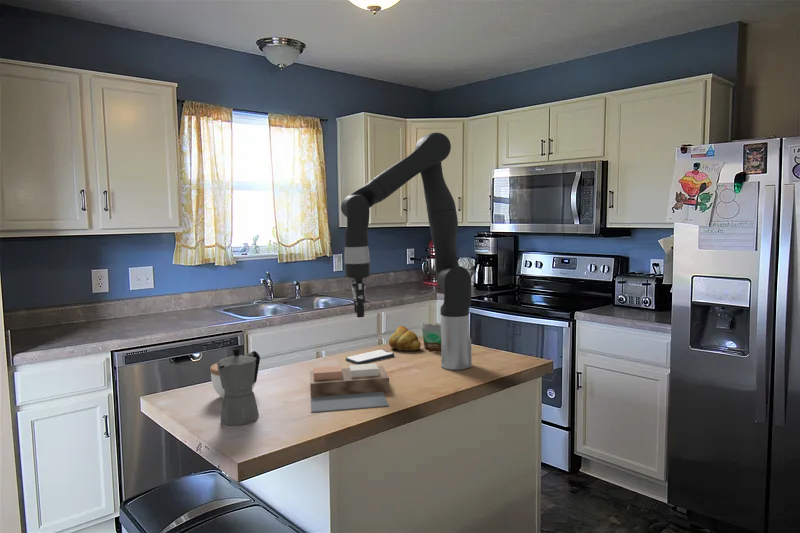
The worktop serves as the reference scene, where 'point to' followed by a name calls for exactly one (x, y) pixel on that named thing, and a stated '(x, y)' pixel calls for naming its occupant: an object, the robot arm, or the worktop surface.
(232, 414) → the coffeepot
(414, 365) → the worktop surface
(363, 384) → the walnut board
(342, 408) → the rubber mat
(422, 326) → the food container
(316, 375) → the tile terracotta
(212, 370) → the lidded bowl
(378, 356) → the phone case
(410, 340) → the bread roll
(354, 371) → the tile cream
